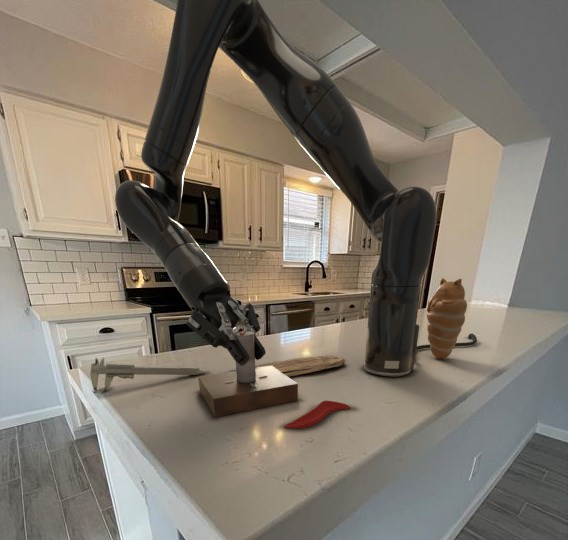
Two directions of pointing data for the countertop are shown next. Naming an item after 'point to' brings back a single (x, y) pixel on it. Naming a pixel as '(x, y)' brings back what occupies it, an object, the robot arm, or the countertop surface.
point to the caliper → (134, 371)
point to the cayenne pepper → (316, 414)
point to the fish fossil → (306, 364)
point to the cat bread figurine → (445, 317)
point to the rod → (248, 370)
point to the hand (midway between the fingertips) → (253, 359)
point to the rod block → (247, 391)
